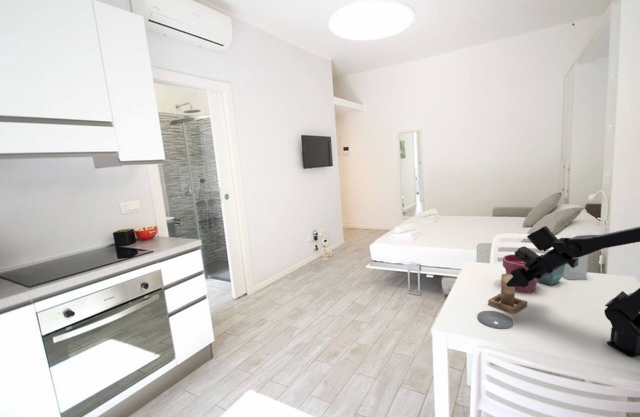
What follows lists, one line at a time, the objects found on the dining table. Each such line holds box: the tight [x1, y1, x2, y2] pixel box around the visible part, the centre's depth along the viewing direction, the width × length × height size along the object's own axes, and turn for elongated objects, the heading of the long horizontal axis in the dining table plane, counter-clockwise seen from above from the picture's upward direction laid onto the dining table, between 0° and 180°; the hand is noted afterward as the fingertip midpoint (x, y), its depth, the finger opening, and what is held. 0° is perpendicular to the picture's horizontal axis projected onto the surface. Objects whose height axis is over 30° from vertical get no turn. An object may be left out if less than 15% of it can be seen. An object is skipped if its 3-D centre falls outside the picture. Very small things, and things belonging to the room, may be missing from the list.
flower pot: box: [537, 265, 565, 286], centre depth 131 cm, size 9×9×9 cm
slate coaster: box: [477, 310, 514, 330], centre depth 106 cm, size 11×11×1 cm
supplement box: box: [562, 254, 589, 281], centre depth 134 cm, size 7×7×13 cm
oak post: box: [500, 273, 516, 307], centre depth 114 cm, size 4×4×12 cm
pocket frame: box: [487, 292, 528, 315], centre depth 115 cm, size 9×9×2 cm
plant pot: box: [502, 253, 539, 293], centre depth 127 cm, size 14×14×13 cm
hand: (513, 282), depth 112 cm, fingers open, 9 cm apart
